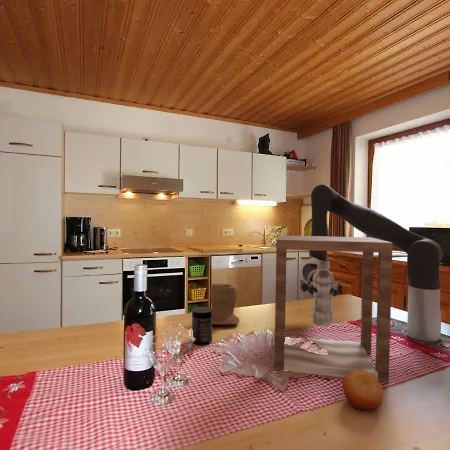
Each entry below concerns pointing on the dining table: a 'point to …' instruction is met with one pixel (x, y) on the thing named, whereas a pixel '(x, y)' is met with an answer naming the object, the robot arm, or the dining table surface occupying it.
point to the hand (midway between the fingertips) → (323, 292)
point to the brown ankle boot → (223, 304)
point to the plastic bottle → (322, 295)
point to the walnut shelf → (356, 351)
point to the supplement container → (202, 325)
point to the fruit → (362, 390)
